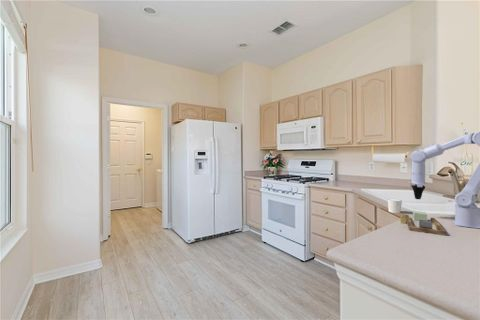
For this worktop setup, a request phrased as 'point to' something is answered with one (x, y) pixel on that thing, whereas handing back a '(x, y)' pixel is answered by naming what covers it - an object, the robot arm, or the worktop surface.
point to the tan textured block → (402, 218)
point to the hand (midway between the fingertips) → (417, 198)
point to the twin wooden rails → (426, 230)
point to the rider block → (419, 216)
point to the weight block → (425, 224)
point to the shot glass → (394, 205)
